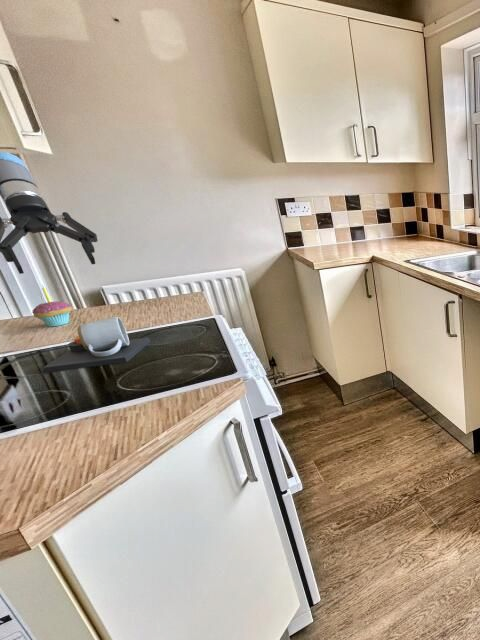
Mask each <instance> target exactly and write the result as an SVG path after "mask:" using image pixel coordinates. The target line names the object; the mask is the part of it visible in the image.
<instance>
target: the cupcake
mask: <svg viewBox="0 0 480 640" xmlns="http://www.w3.org/2000/svg"><path fill="white" fill-rule="evenodd" d="M41 289H42V291H43V293H44V296H45V299H46V300H47V302H44V303H39V304H38V305H37V306H35V307H34V308H33V310H32V312H31V313H32V314H33V317H34V318H37V319H39V320H41V321H42V322H43V323H44V324H45V325H46V326H47V327H52V328H53V327H60V326H64V325H67V324H69V323H70V312H72V311H73V310H74V308H73V306H72V305H71V304H70V303H68V302H65V301H58V300H57V301H52V300H51V297H50V296H49V293H48V292H47V288H46V287H45V286H44V285H42V288H41Z"/></svg>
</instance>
